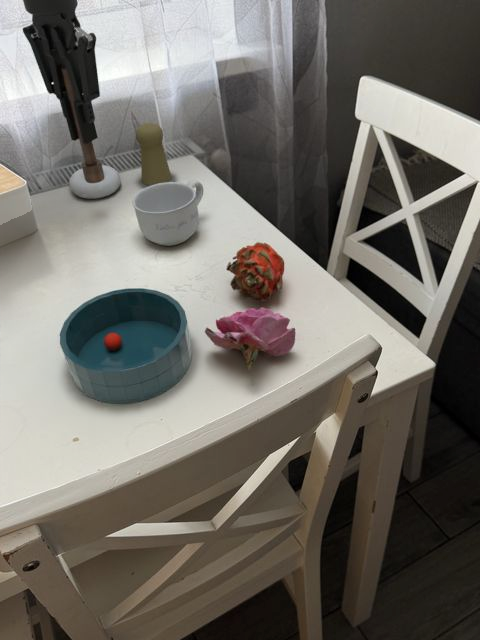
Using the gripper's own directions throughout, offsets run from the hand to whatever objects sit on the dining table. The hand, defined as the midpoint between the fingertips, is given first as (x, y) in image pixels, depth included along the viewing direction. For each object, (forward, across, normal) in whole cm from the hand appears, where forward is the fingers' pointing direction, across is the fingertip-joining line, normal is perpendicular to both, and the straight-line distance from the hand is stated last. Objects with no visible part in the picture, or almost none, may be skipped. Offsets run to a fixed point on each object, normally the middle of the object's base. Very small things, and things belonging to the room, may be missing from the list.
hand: (84, 138), depth 101 cm
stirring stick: (+7, 0, 0) cm, 7 cm away
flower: (+15, -44, +18) cm, 50 cm away
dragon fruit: (+15, -37, +5) cm, 40 cm away
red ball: (+13, -27, +27) cm, 40 cm away
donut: (+15, +8, -7) cm, 18 cm away
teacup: (+15, -16, -2) cm, 22 cm away
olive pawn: (+15, 0, -16) cm, 22 cm away
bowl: (+15, -30, +27) cm, 43 cm away
